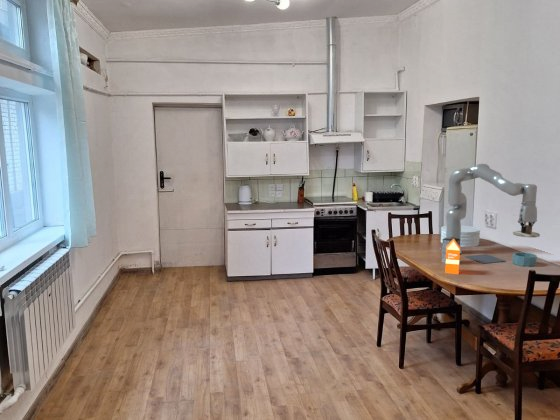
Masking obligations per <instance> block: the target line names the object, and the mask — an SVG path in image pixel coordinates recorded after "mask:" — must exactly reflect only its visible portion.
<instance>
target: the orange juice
mask: <svg viewBox="0 0 560 420" xmlns="http://www.w3.org/2000/svg"><path fill="white" fill-rule="evenodd" d="M460 250H461V247H459V246H458V244H457V243H456V241H455V240H454V239H453V240H452V241H451V242H450V243H449V245H448V246H447V247H446V263H445V270H444V273H445V274H455V275H459V273H460V272H459V270H460V257H461V254H460Z"/></svg>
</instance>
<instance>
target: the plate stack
mask: <svg viewBox="0 0 560 420" xmlns="http://www.w3.org/2000/svg"><path fill="white" fill-rule="evenodd" d="M446 229H447V225H444V226H441V228H440V232H441V233H440V243H441V244H443V239H444V238H446ZM480 232H481V228H479V227H476V226H471V225H463V224H461V238H460V248H461V247H463V248H470V247H471V248H472V247H478V246H479V245H480V238H481V237H480V235H481V233H480Z"/></svg>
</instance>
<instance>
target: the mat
mask: <svg viewBox="0 0 560 420" xmlns="http://www.w3.org/2000/svg"><path fill="white" fill-rule="evenodd" d="M464 258H466V259H469V260H470V261H475V262H477V263H480V264H483V265H484V264H495V263H503V262H505V263H506V262H507V260H505V259H502V258H499V257H495V256H493V255H489V254H488V253H487V254H486V253H485V254H477V255H466V256H465V255H464Z"/></svg>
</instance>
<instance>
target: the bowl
mask: <svg viewBox="0 0 560 420" xmlns="http://www.w3.org/2000/svg"><path fill="white" fill-rule="evenodd" d="M512 264H513V265H516V266H520V267H530V268H531V267H536V265H537V255H536V254H534V253H531V252H517V251H516V252H514V253H512Z"/></svg>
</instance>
